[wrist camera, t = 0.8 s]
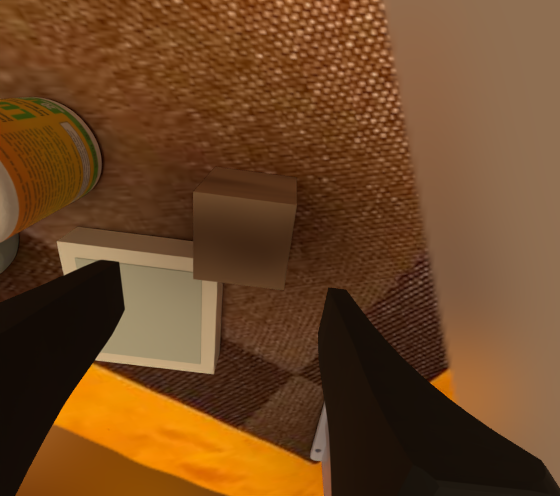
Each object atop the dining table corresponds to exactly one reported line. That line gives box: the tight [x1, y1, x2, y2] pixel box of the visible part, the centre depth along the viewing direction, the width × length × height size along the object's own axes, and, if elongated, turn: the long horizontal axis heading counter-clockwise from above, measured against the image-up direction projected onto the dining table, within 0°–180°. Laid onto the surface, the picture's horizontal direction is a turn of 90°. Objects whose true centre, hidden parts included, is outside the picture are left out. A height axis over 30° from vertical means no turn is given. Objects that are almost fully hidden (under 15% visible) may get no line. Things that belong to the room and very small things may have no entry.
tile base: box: [57, 227, 223, 374], centre depth 21 cm, size 9×9×2 cm
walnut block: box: [193, 167, 297, 290], centre depth 17 cm, size 4×4×4 cm
